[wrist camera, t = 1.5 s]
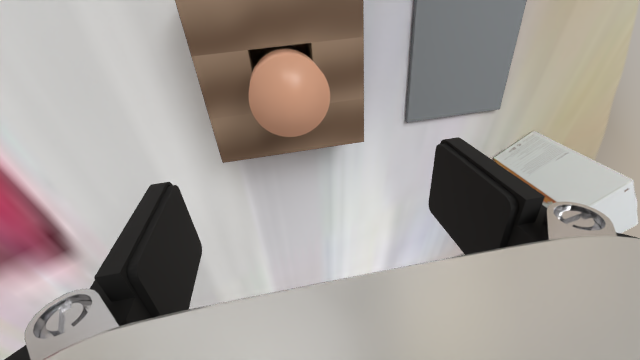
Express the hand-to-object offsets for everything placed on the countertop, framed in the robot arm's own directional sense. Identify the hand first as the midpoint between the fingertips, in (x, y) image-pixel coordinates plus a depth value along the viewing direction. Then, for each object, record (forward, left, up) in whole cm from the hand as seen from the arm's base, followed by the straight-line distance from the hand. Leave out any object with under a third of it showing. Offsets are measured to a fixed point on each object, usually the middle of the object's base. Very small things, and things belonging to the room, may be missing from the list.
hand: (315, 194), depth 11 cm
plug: (0, 0, -23) cm, 23 cm away
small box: (+17, +32, -24) cm, 43 cm away
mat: (0, +20, -24) cm, 31 cm away
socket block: (0, 0, -24) cm, 24 cm away
